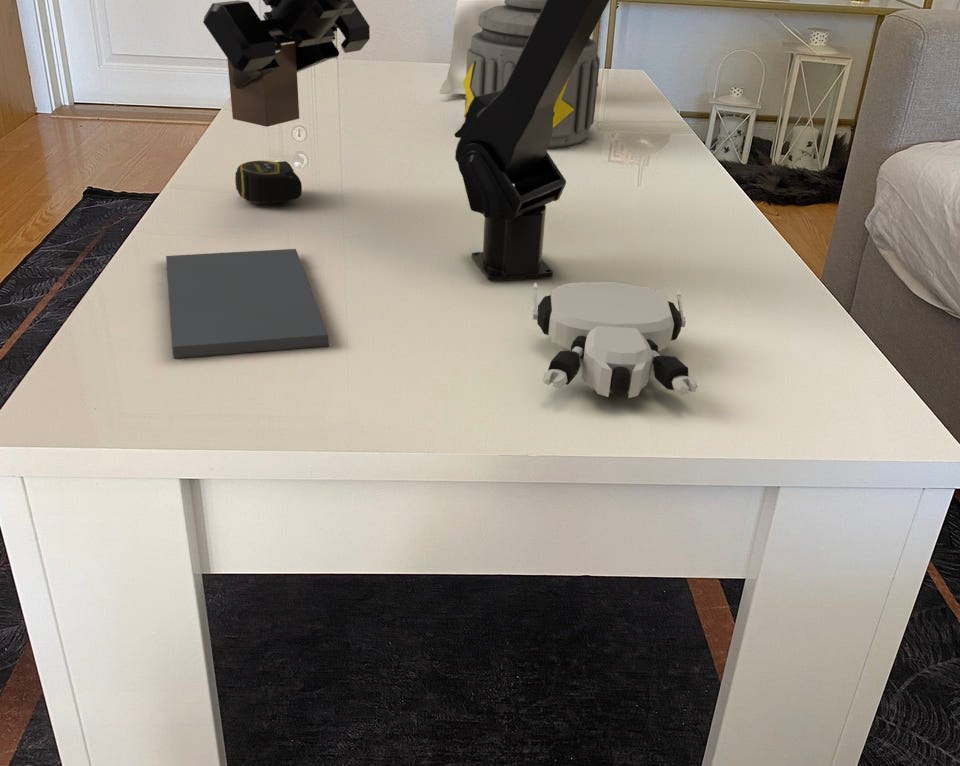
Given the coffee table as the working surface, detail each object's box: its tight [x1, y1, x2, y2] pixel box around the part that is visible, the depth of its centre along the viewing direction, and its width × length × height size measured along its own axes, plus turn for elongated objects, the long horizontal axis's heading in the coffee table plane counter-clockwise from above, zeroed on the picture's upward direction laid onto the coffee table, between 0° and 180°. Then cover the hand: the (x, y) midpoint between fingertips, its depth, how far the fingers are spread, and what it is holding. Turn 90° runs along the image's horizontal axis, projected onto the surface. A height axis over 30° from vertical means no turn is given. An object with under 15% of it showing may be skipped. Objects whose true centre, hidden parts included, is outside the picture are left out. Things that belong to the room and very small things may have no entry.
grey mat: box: [165, 248, 330, 359], centre depth 85 cm, size 20×12×1 cm, turn 16°
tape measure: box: [234, 160, 303, 205], centre depth 109 cm, size 7×7×4 cm
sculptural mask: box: [438, 0, 506, 95], centre depth 155 cm, size 17×12×16 cm
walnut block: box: [226, 43, 300, 128], centre depth 103 cm, size 5×5×8 cm
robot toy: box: [532, 281, 698, 399], centre depth 77 cm, size 12×4×15 cm
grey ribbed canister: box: [463, 0, 601, 149], centre depth 134 cm, size 19×19×30 cm
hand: (253, 81), depth 104 cm, fingers closed on walnut block, 5 cm apart
